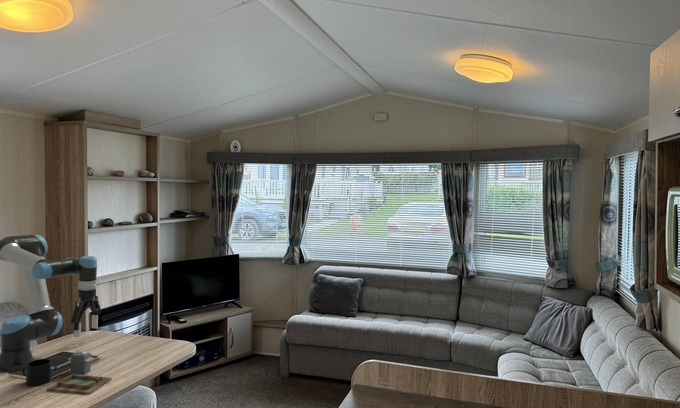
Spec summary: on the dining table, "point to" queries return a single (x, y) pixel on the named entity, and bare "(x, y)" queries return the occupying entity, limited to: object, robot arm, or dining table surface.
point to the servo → (80, 363)
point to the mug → (37, 372)
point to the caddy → (79, 384)
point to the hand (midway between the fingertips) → (86, 332)
